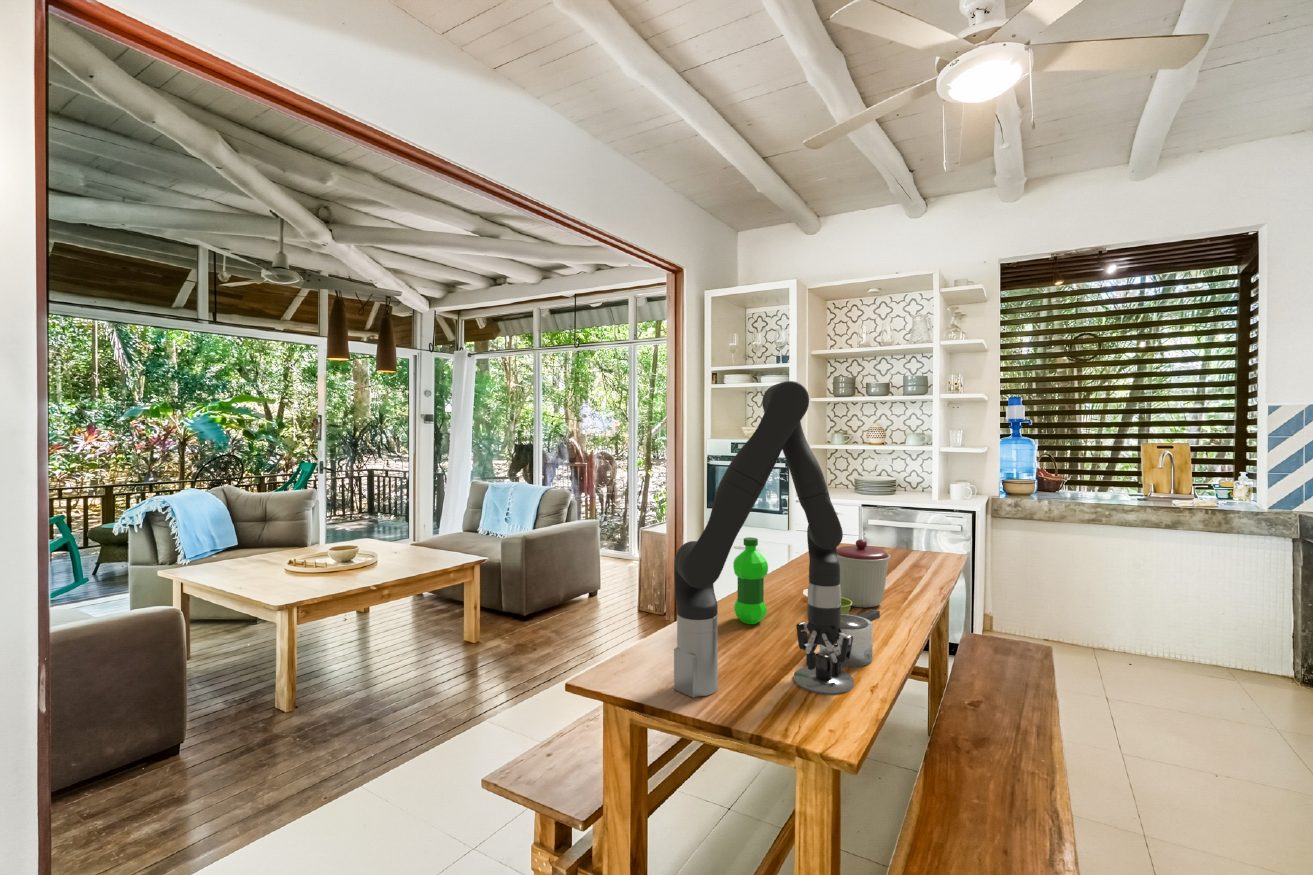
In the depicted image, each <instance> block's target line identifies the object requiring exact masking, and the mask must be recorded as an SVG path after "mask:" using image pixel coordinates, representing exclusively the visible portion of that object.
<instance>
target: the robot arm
mask: <svg viewBox="0 0 1313 875" xmlns="http://www.w3.org/2000/svg"><path fill="white" fill-rule="evenodd" d="M761 403H762V404H761V405H762V408H763V412H764V414H763V416H762V417H761V420H760V421H759V424H758V426H757V428H756V429H755V431H754V432H753V433H752V435H751V436H750V437H749V439H748V440H747V441H746V442H745V443H744V444H743V445H742V447H741V448H740V449H739V450H738V452H737V453H736V454H735V456H734V457H733V458H732V460H731V461H730V463H729V465H728V467H727V468H726V470H725V473H724V474H723V475H722V477H721V480H720V482H719V484H718V486H717V488H716V491H715V495H714V500H713V503H712V508H711V512H710V515H709V518H708V521H707V524H705V525H706V526H705V528H704V530H703V531H702V533H701V534H700V536H699V538H698V539H697V540H692V541H687V542H685V543H683V544H682V545H681V546H680V547H679V548H678V549H677V552H676V554H675V557H674V564H673V565H674V570H673V571H674V574H673V575H674V598H675V602H676V625H677V626H676V641H677V642H676V647H675V648H674V649H673V690H675V691H677V692H679V693H682V694H684V695H686V696H688V697H690V698H693V699H694V698H697V697H705V696H710V695H712V694H714V693H716V692H717V690H718V670H719V669H718V666H719V665H718V622H719V620H718V612H719V611H718V610H719V609H718V606H719V605H718V601H717V597H716V594H715V588H714V584H715V583H716V581H717V580H718V579H719V578H720V576H721V574H722V572H723V569H724V566H725V565H726V562H727V559H728V557H729V554H730V552H731V549H732V547H733V544H734V543H735V540H736V538H737V536H738V535H739V532H740V531H741V529H742V528H743V526H744V523H746V520H747V518H748V517H749V515H750V513H751V511H752V510H753V507H754V505H755V504H756V503H757V501H758V500H759V497H760V496H761V494H762V491H763V489H764V488H765V486H766V484H767V481H768V480H769V477H770V475H771V473H772V471H773V470H774V468H775V465H776V463H777V461H778V459H779V457H780V455H781V452H783V453H782V454H783V455H784V458H785V461H786V464H787V466H788V470H789V473H790V476H791V480H792V482H793V486H794V489H795V493H796V496H797V498H798V502H799V504H800V506H801V507H802V510H803V512H804V515H805V517H806V521H807V523H808V526H807V531H806V533H807V534H806V536H807V549H808V556H809V557H808V559H809V565H808V587H807V622H805V621H801V622H798V623H796V625H795V627H796V634H797V640H798V648H799V649H800V650H803V651H804V652H805V653H806V655H805V657H806V661H805V662H806V667H808V669H810V670H812V669H814V668H815V666H816V654H817V652H815V651H816V650H817V647H818V646H820V645H823V646H824V647H827V650H828V652H829V653H830V654H831V657H832V660H833V662H832V677H833V678H837V677H839V675H841V670H842V666H841V662H845V661H846V660H849V659H850V654H851V648H852V642H853V636H852V635H848V636H847V635H845V634H843V633H842V632H841V629H840V623H841V589H840V564H839V561H838V558H837V549H838V548H837V547H838V546H839V545H840V544H841V543H842V541H843V537H844V535H843V534H844V533H843V532H844V531H843V527H842V525H841V520H840V519H839V516H838V514H837V512H836V510H835V508H834V505H833V503H832V501H831V496H830V493H829V489H828V486H827V482H826V480H825V476H824V474H823V470H822V468H821V466H820V463H819V461H818V460H817V457H816V455H815V454H814V452H813V451H812V448H811V446H810V445H809V443H808V441H807V438H806V435H805V433H804V430H803V427H802V422H801V421H802V419H803V418H804V416H805V414H806V413H807V412H808V408H809V406H810V396H809V391H808V390H807V388H806V387H805V386H804V385H803V384H802V383H800V382H799V381H798V382H797V381H793V380H792V381H791V380H788V381H782V382H779V383H776V384H774V385H773V384H772V385H771V386H769V388H767V390H765V391H764V394H763V397H762V400H761ZM808 632H809V634H810V638H809V636H808ZM839 638H840V639H841V644H842V648H841V651H840V645H839V642H838V639H839ZM832 645H834V647H832Z"/></svg>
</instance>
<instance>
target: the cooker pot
mask: <svg viewBox="0 0 1313 875" xmlns="http://www.w3.org/2000/svg"><path fill="white" fill-rule="evenodd" d="M880 618H881V611H880V610H877V609H874V608H873V609H872V608H870V609H867V610H865V611H863V612H861V613H859V614H857V615H855V614H849V615H848V614H841V623H840V629H841V632H842V633H843V634H845V635H847V636H848V635H852V636H853V642H852V648H851V654H850V659H849V660H846V661H845V662H841V667H846V668H847V667H848V668H849V667H850V668H859V667H865V666H869V665H870V664H871V663H872V662H873V644H874V642H873V639H874V638H873V635H874V634H873V632H874V630H873V623H872V622H873V621H876V620H878V619H880ZM838 642H839V645H840V651H841V648H842V644H841V639H840V638H839V639H838ZM832 647H834V645H832ZM820 652H823V653H828V654H830V653H829V652H828V650H827V647H824V646H823V645H819V653H820ZM830 655H831V654H830ZM832 662H833V660H832Z"/></svg>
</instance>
